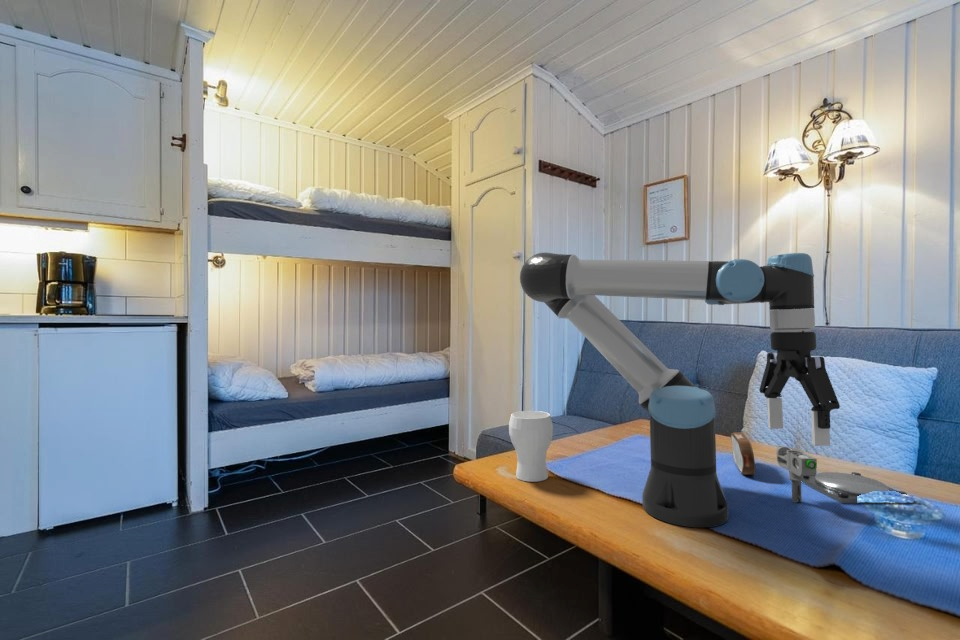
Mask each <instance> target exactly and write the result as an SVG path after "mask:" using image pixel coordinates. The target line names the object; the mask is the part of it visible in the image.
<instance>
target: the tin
mask: <svg viewBox="0 0 960 640" xmlns="http://www.w3.org/2000/svg"><path fill="white" fill-rule="evenodd" d="M730 440H731V446H732V450H731V451H732V452H731V453H732V457H733V461H734V462H733V463H734V464H735V463H736V464H735V466H736V465H737V466H736V467H738V468H737V470H738V471H739V470H740V471H739V473H740V472H741V473H740V475H742V474H743V475H744V476H752V477H754V476H755V475H756V461H755V456H754V455H755V454H754V450H753V446H752V443H751V441H750V439H749V438H748V436H746V434H745V433H744V432H743V431H741V432H738V431H737V432H732V433H730Z"/></svg>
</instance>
